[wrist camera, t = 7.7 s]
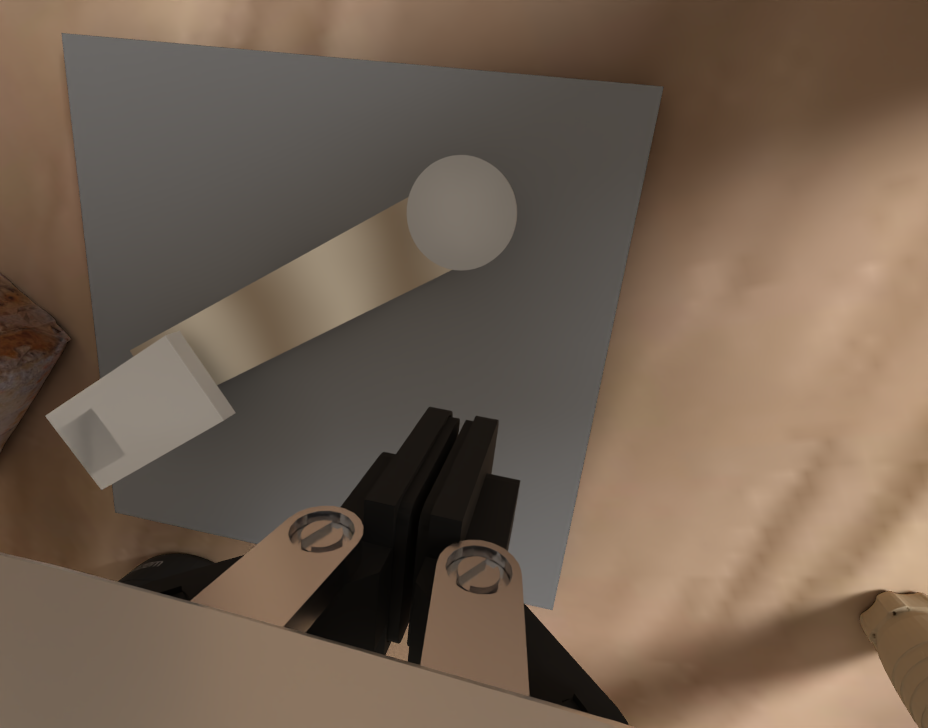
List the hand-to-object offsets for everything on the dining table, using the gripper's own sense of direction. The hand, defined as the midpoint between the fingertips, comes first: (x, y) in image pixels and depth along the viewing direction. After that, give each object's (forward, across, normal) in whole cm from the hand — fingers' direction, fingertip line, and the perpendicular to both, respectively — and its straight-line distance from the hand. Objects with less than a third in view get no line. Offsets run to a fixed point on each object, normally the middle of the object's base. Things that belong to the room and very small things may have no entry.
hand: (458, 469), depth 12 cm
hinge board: (+11, +8, +1) cm, 14 cm away
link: (+10, +9, 0) cm, 13 cm away
